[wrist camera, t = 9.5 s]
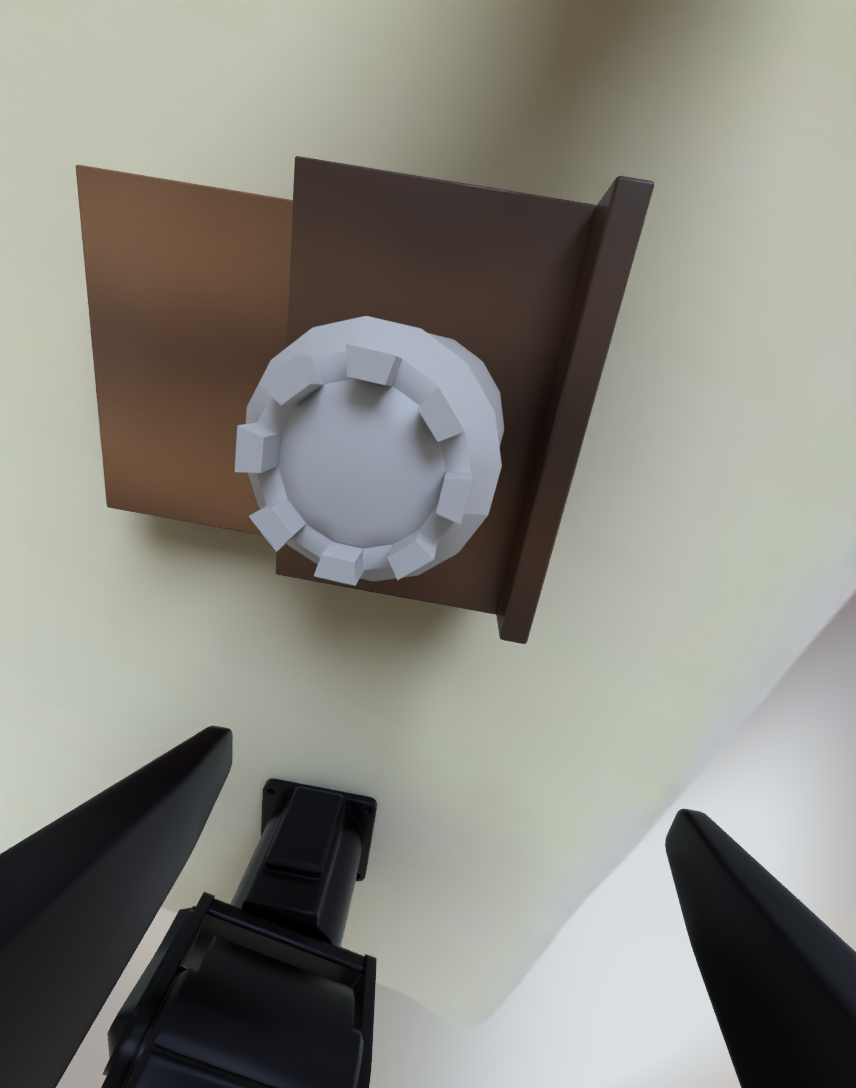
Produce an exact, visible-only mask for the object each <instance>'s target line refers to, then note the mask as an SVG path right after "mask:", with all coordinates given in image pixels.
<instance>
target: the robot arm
mask: <svg viewBox="0 0 856 1088" xmlns="http://www.w3.org/2000/svg"><path fill="white" fill-rule="evenodd" d="M231 765H232V731H231V730H230V729H229V728H224V727H218V726H210V727H207V728H206V729H204V730H202V731H201V732H199V733H197V734H196V735H194V736H193V737H191V738H189V739H188V740H186V741H184V742H183V743H181V744H180V745H178V746H176V747H175V748H173V749H171V750H170V751H168V752H166V753H165V754H163V755H162V756H160V757H158V758H157V759H155V760H153V761H152V762H150V763H148V764H147V765H145V766H144V767H142V768H140V769H139V770H137V771H135V772H134V773H132V774H130V775H129V776H127V777H126V778H124V779H122V780H121V781H119V782H117V783H116V784H114V785H112V786H111V787H109V788H108V789H106V790H104V791H103V792H101V793H99V794H98V795H96V796H95V797H93V798H91V799H90V800H88V801H86V802H85V803H83V804H81V805H80V806H78V807H77V808H75V809H73V810H72V811H70V812H68V813H67V814H65V815H63V816H62V817H60V818H59V819H57V820H55V821H54V822H52V823H50V824H49V825H47V826H45V827H44V828H42V829H41V830H39V831H37V832H36V833H34V834H32V835H31V836H29V837H27V838H26V839H24V840H23V841H21V842H19V843H18V844H16V845H14V846H13V847H11V848H9V849H8V850H6V851H5V852H3V853H1V854H0V1088H55V1087H56V1086H57V1084H58V1082H59V1081H60V1079H61V1077H62V1076H63V1074H64V1072H65V1071H66V1069H67V1067H68V1065H69V1064H70V1062H71V1060H72V1059H73V1057H74V1055H75V1053H76V1052H77V1050H78V1048H79V1046H80V1045H81V1043H82V1041H83V1040H84V1038H85V1036H86V1034H87V1033H88V1031H89V1029H90V1028H91V1026H92V1024H93V1022H94V1021H95V1019H96V1017H97V1015H98V1014H99V1012H100V1010H101V1009H102V1007H103V1005H104V1004H105V1002H106V1000H107V998H108V997H109V995H110V993H111V991H112V990H113V988H114V986H115V985H116V983H117V981H118V979H119V978H120V976H121V974H122V973H123V970H124V969H125V967H126V966H127V964H128V962H129V961H130V959H131V957H132V955H133V953H134V952H135V950H136V948H137V947H138V945H139V943H140V941H141V940H142V938H143V936H144V934H145V933H146V931H147V930H148V928H149V926H150V924H151V923H152V921H153V919H154V918H155V916H156V914H157V912H158V911H159V909H160V907H161V906H162V904H163V902H164V900H165V899H166V897H167V895H168V893H169V892H170V890H171V888H172V887H173V885H174V883H175V881H176V880H177V878H178V876H179V875H180V873H181V871H182V869H183V868H184V866H185V864H186V862H187V860H188V859H189V857H190V855H191V853H192V851H193V849H194V847H195V845H196V843H197V841H198V839H199V837H200V834H201V832H202V830H203V828H204V826H205V824H206V821H207V819H208V817H209V815H210V813H211V811H212V808H213V806H214V804H215V802H216V800H217V798H218V796H219V793H220V791H221V789H222V787H223V785H224V783H225V780H226V778H227V776H228V774H229V772H230V769H231ZM376 810H377V802H376V800H374V799H373V798H371V797H366V796H361V795H356V794H351V793H346V792H340V791H335V790H330V789H325V788H320V787H314V786H309V785H304V784H299V783H294V782H289V781H283V780H278V779H269V780H268V781H267V782H266V784H265V786H264V788H263V802H262V824H261V839H260V841H259V843H258V845H257V847H256V850H255V852H254V854H253V856H252V858H251V861H250V863H249V865H248V867H247V869H246V872H245V874H244V876H243V878H242V880H241V883H240V885H239V887H238V889H237V891H236V893H235V896H234V898H233V900H232V902H231V904H228V903H225V902H222V901H220V900H217V899H215V898H214V897H215V896H214V895H212V894H209V893H206V892H204V893H203V895H202V897H201V898H200V900H199V902H198V904H197V906H196V907H195V906H193V907H192V908H187V909H181V910H179V912H178V914H177V915H176V917H175V919H174V921H173V923H172V925H171V927H170V928H169V930H168V932H167V934H166V936H165V937H164V939H163V941H162V943H161V945H160V946H159V948H158V950H157V952H156V953H155V955H154V956H153V958H152V960H151V961H150V963H149V965H148V966H147V968H146V970H145V971H144V973H143V974H142V976H141V978H140V979H139V981H138V982H137V984H136V986H135V987H134V989H133V990H132V992H131V993H130V995H129V997H128V998H127V1000H126V1001H125V1003H124V1005H123V1006H122V1008H121V1009H120V1011H119V1013H118V1014H117V1016H116V1018H115V1020H114V1022H113V1023H112V1025H111V1027H110V1029H109V1031H108V1045H109V1056H110V1059H109V1061H108V1064H107V1066H106V1068H105V1070H104V1073H103V1075H106V1076H107V1077H106V1079H105V1081H104V1083H103V1085H102V1087H101V1088H369V1083H370V1075H371V1063H372V1042H373V1022H374V1001H375V981H376V958H375V957H372V956H369V955H367V954H365V956H362V955H360V954H357V953H354V952H352V951H349V950H347V949H344V948H342V947H341V943H342V938H343V934H344V929H345V925H346V920H347V916H348V911H349V907H350V902H351V898H352V893H353V889H354V885H355V881H362V880H363V879H364V878H365V874H366V869H367V863H368V857H369V851H370V846H371V840H372V834H373V828H374V822H375V816H376ZM665 846H666V853H667V856H668V860H669V864H670V868H671V871H672V876H673V879H674V883H675V887H676V891H677V894H678V898H679V902H680V906H681V910H682V913H683V917H684V921H685V925H686V929H687V932H688V936H689V939H690V942H691V946H692V949H693V952H694V955H695V957H696V961H697V964H698V967H699V969H700V972H701V975H702V978H703V980H704V983H705V986H706V989H707V992H708V995H709V998H710V1000H711V1003H712V1006H713V1009H714V1012H715V1015H716V1017H717V1020H718V1023H719V1026H720V1029H721V1032H722V1034H723V1037H724V1040H725V1043H726V1045H727V1048H728V1051H729V1054H730V1057H731V1060H732V1063H733V1066H734V1068H735V1071H736V1074H737V1077H738V1080H739V1082H740V1085H741V1088H856V952H855V951H854V950H853V949H852V948H851V947H850V946H849V945H847V944H846V943H845V942H844V941H843V940H842V939H841V938H840V937H839V936H838V935H837V934H836V933H835V932H833V931H832V930H831V929H830V928H829V927H828V926H827V925H826V924H825V923H824V922H823V921H821V920H820V919H819V918H818V917H817V916H816V915H815V914H814V913H813V912H811V911H810V910H809V909H808V908H807V907H806V906H805V905H804V904H803V903H802V902H801V901H800V900H799V899H797V898H796V897H795V896H794V895H793V894H792V893H791V892H790V891H789V890H788V889H787V888H785V887H784V886H783V885H782V884H781V883H780V882H779V881H778V880H777V879H776V878H775V877H773V876H772V875H771V874H770V873H769V872H768V871H767V870H766V869H765V868H764V867H763V866H762V865H760V864H759V863H758V862H757V861H756V860H755V859H754V858H753V857H751V856H750V854H748V853H747V852H746V851H745V850H744V849H743V848H742V847H741V846H740V845H739V844H737V843H736V842H735V841H734V840H733V839H732V838H731V837H730V836H729V835H727V833H726V832H724V831H723V830H722V829H721V828H720V827H719V826H718V825H717V824H716V823H715V822H714V821H712V820H711V819H710V818H709V817H708V816H707V815H706V814H704V813H702V812H699V811H694V810H689V809H681V810H679V811H678V812H677V814H676V816H675V819H674V821H673V823H672V825H671V827H670V830H669V832H668V834H667V837H666V843H665ZM184 967H185V968H184ZM187 968H188V969H187Z"/></svg>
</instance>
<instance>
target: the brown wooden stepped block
mask: <svg viewBox="0 0 856 1088" xmlns="http://www.w3.org/2000/svg"><path fill="white" fill-rule="evenodd" d="M76 175H77V186H78V197H79V208H80V219H81V229H82V240H83V251H84V262H85V273H86V284H87V295H88V305H89V316H90V327H91V338H92V349H93V360H94V371H95V381H96V392H97V403H98V414H99V425H100V436H101V447H102V457H103V468H104V479H105V490H106V501H107V507H109V508H115V509H120V510H126V511H131V512H137V513H143V514H148V515H154V516H159V517H165V518H170V519H176V520H181V521H187V522H192V523H198V524H203V525H209V526H214V527H220V528H225V529H231V530H236V531H242V532H247V533H253V534H258V535H263V534H262V533H261V532H260V530H259V529H258V528H257V526H256V525H255V524H254V523H253V521H252V520H251V519H250V517H249V516H250V515H251V514H253V513H255V512H257V511H258V510H260V508H259V506H258V504H257V501H256V497H255V494H254V491H253V488H252V484H251V481H250V478H249V475H248V473H247V472H235V456H236V441H237V425H244V424H246V413H247V406H248V404H249V402H250V400H251V398H252V396H253V394H254V392H255V390H256V388H257V386H258V384H259V382H260V380H261V378H262V376H263V374H264V372H265V370H266V368H267V367H268V365H269V363H270V361H271V360H272V359H273V358H274V357H276V356H277V355H278V354H279V353H281V352H282V351H283V350H285V349H286V348H287V347H288V346H290V345H291V344H292V343H293V342H295V341H296V340H297V339H299V338H300V337H301V336H302V335H304V334H305V333H306V332H308V331H309V330H310V329H311V328H313V327H317V326H322V325H327V324H331V323H336V322H340V321H345V320H349V319H354V318H359V317H363V316H369V317H373V318H378V319H382V320H386V321H391V322H395V323H399V324H404V325H408V326H412V327H417V328H421V329H423V330H424V331H425V332H426V333H429V334H433V335H437V336H442V337H446V338H450V339H453V340H455V341H456V342H458V343H459V344H460V345H462V346H463V347H464V348H466V349H467V350H468V351H470V352H471V353H472V354H473V355H475V356H476V357H477V358H479V359H480V360H481V361H483V363H484V365H485V366H486V368H487V370H488V372H489V374H490V375H491V377H492V379H493V381H494V383H495V384H496V386H497V388H498V390H499V391H500V396H501V405H502V413H503V421H504V433H503V436H502V440H501V444H500V447H499V448H500V456H501V464H502V467H501V471H500V474H499V478H498V481H497V485H496V489H495V492H494V496H493V500H492V503H491V507H490V510H489V514H488V516H487V517H486V518H485V520H484V521H483V522H482V524H481V525H480V526H479V527H478V529H477V530H476V531H475V532H474V534H473V535H472V536H471V538H470V539H469V540H468V541H467V543H466V544H465V545H464V546H463V548H462V549H461V550H460V552H459V553H457V554H455V555H454V556H452V557H450V558H448V559H447V560H445V561H443V562H441V563H439V564H438V565H436V566H434V567H432V568H431V569H429V570H427V571H425V572H424V573H422V574H420V575H418V576H410V577H403V578H400V579H399V580H397V578H395V579H388V580H381V581H369V580H364V579H359V581H358V582H357V584H356V586H354V585H350V584H345V583H341V582H337V581H332V580H328V579H324V578H320V577H315V576H314V574H315V571H316V568H317V566H318V564H316V563H315V562H313V561H312V560H310V559H309V558H307V557H305V556H304V555H302V554H301V553H299V552H298V551H296V550H295V549H293V548H292V547H290V546H289V545H287V543H286V544H285V545H284V546H283V547H282V548H281V549H279V550H278V551H277V554H276V574H278V575H283V576H289V577H294V578H300V579H305V580H310V581H316V582H321V583H327V584H332V585H338V586H343V587H349V588H354V589H360V590H365V591H370V592H376V593H381V594H387V595H392V596H398V597H403V598H409V599H414V600H420V601H425V602H430V603H436V604H441V605H447V606H452V607H458V608H463V609H469V610H474V611H480V612H485V613H490V614H496V615H497V622H498V629H499V635H500V639H502V640H505V641H511V642H516V643H522V644H526V643H527V640H528V637H529V633H530V630H531V626H532V622H533V619H534V615H535V612H536V608H537V604H538V601H539V597H540V594H541V590H542V586H543V583H544V579H545V576H546V572H547V568H548V565H549V561H550V558H551V554H552V550H553V547H554V543H555V540H556V536H557V533H558V529H559V525H560V522H561V518H562V515H563V511H564V507H565V504H566V500H567V497H568V493H569V489H570V486H571V482H572V479H573V475H574V471H575V468H576V464H577V461H578V457H579V454H580V450H581V446H582V443H583V439H584V436H585V432H586V428H587V425H588V421H589V418H590V414H591V410H592V407H593V403H594V400H595V396H596V392H597V389H598V385H599V382H600V378H601V375H602V371H603V367H604V364H605V360H606V357H607V353H608V349H609V346H610V342H611V339H612V335H613V331H614V328H615V324H616V321H617V317H618V313H619V310H620V306H621V303H622V299H623V296H624V292H625V288H626V285H627V281H628V278H629V274H630V270H631V267H632V263H633V260H634V256H635V252H636V249H637V245H638V242H639V238H640V234H641V231H642V227H643V224H644V220H645V217H646V213H647V209H648V206H649V202H650V199H651V195H652V191H653V188H654V182H652V181H648V180H642V179H636V178H630V177H623V176H619V177H616V179H615V180H614V182H613V183H612V185H611V186H610V187H609V189H608V190H607V192H606V193H605V194H604V196H603V197H602V199H601V200H600V201H599V203H598V204H597V205H594V204H587V203H581V202H575V201H569V200H563V199H557V198H551V197H544V196H538V195H532V194H526V193H520V192H514V191H508V190H502V189H495V188H489V187H483V186H477V185H471V184H465V183H459V182H452V181H446V180H440V179H434V178H428V177H422V176H416V175H410V174H403V173H397V172H391V171H385V170H379V169H373V168H367V167H361V166H354V165H348V164H342V163H336V162H330V161H324V160H318V159H311V158H305V157H299V156H296V157H295V171H294V192H293V200H289V199H283V198H277V197H270V196H264V195H258V194H252V193H246V192H240V191H234V190H228V189H222V188H216V187H210V186H204V185H198V184H192V183H186V182H180V181H174V180H168V179H162V178H155V177H149V176H143V175H137V174H131V173H125V172H119V171H113V170H107V169H101V168H95V167H89V166H83V165H76Z"/></svg>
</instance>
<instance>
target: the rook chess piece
mask: <svg viewBox="0 0 856 1088" xmlns="http://www.w3.org/2000/svg"><path fill="white" fill-rule="evenodd" d="M503 433H504V421H503V413H502V405H501V396H500V391H499V390H498V388H497V386H496V384H495V383H494V381H493V379H492V377H491V375H490V374H489V372H488V370H487V368H486V366H485V365H484V363H483V361H481V360H480V359H479V358H477V357H476V356H475V355H473V354H472V353H471V352H470V351H468V350H467V349H466V348H464V347H463V346H462V345H460V344H459V343H458V342H456V341H455V340H453V339H450V338H446V337H442V336H437V335H433V334H429V333H426V332H425V331H424V330H423V329H421V328H417V327H412V326H408V325H404V324H399V323H395V322H391V321H386V320H382V319H378V318H373V317H369V316H363V317H359V318H354V319H349V320H345V321H340V322H336V323H331V324H327V325H322V326H317V327H313V328H311V329H310V330H309V331H308V332H306V333H305V334H304V335H302V336H301V337H300V338H299V339H297V340H296V341H295V342H293V343H292V344H291V345H290V346H288V347H287V348H286V349H285V350H283V351H282V352H281V353H279V354H278V355H277V356H276V357H274V358H273V359H272V360H271V361H270V363H269V365H268V367H267V368H266V370H265V372H264V374H263V376H262V378H261V380H260V382H259V384H258V386H257V388H256V390H255V392H254V394H253V396H252V398H251V400H250V402H249V404H248V406H247V413H246V424H244V425H237V441H236V456H235V472H247V473H248V475H249V478H250V481H251V484H252V488H253V491H254V494H255V497H256V501H257V504H258V506H259V508H260V510H258V511H257V512H255V513H253V514H251V515H250V516H249V517H250V519H251V520H252V521H253V523H254V524H255V525H256V526H257V528H258V529H259V530H260V532H261V533H262V534H263V535H264V537H265V538H266V539H267V541H268V542H269V543H270V545H271V546H272V547H273V548H274V550H275V551H276V552H277V551H278V550H279V549H281V548H282V547H283V546H284V545H285V544H286V543H287V545H289V546H290V547H292V548H293V549H295V550H296V551H298V552H299V553H301V554H302V555H304V556H305V557H307V558H309V559H310V560H312V561H313V562H315V563H316V564H318V566H317V568H316V571H315V574H314V576H315V577H320V578H324V579H328V580H332V581H337V582H341V583H345V584H350V585H354V586H356V584H357V582H358V581H359V579H364V580H369V581H381V580H388V579H395V578H397V580H399V579H400V578H403V577H410V576H418V575H420V574H422V573H424V572H425V571H427V570H429V569H431V568H432V567H434V566H436V565H438V564H439V563H441V562H443V561H445V560H447V559H448V558H450V557H452V556H454V555H455V554H457V553H459V552H460V550H461V549H462V548H463V546H464V545H465V544H466V543H467V541H468V540H469V539H470V538H471V536H472V535H473V534H474V532H475V531H476V530H477V529H478V527H479V526H480V525H481V524H482V522H483V521H484V520H485V518H486V517H487V516H488V514H489V510H490V507H491V503H492V500H493V496H494V492H495V489H496V485H497V481H498V478H499V474H500V471H501V467H502V464H501V456H500V448H499V447H500V444H501V440H502V436H503Z"/></svg>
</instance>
